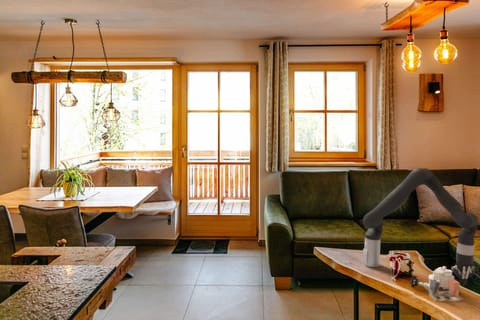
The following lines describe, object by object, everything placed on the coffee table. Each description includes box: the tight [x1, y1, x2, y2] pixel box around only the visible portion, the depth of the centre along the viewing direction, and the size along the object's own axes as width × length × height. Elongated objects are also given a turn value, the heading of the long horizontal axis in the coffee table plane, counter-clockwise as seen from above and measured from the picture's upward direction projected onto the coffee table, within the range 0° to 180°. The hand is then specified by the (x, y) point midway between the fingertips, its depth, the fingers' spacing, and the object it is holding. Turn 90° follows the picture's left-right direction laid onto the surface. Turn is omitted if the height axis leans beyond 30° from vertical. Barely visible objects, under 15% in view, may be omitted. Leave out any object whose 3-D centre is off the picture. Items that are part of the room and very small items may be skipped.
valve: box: [410, 275, 431, 294], centre depth 195 cm, size 7×7×12 cm
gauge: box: [428, 280, 465, 302], centre depth 186 cm, size 14×6×8 cm, turn 92°
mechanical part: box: [428, 265, 455, 291], centre depth 198 cm, size 11×12×12 cm
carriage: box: [447, 279, 461, 297], centre depth 187 cm, size 3×5×7 cm, turn 2°
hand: (462, 285), depth 188 cm, fingers closed
